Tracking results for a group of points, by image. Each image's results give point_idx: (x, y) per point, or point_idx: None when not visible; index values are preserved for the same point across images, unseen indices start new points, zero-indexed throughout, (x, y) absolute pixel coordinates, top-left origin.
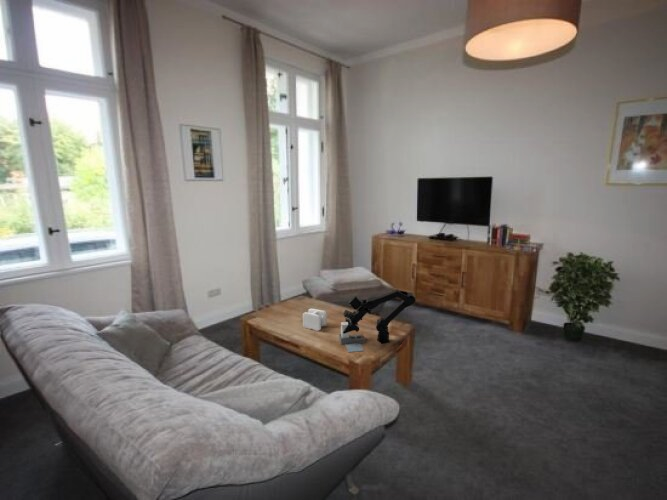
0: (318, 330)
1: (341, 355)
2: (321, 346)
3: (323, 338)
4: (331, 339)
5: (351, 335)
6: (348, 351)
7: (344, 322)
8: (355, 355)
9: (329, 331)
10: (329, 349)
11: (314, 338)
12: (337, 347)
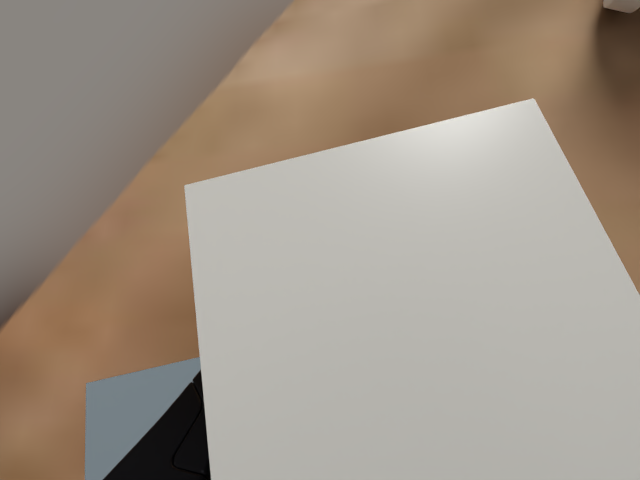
0: (603, 6)
1: (48, 299)
2: (251, 94)
3: (426, 87)
4: None
5: None
6: (94, 382)
7: (570, 290)
8: (8, 475)
9: (632, 122)
10: (186, 170)
11: (415, 14)
12: None
